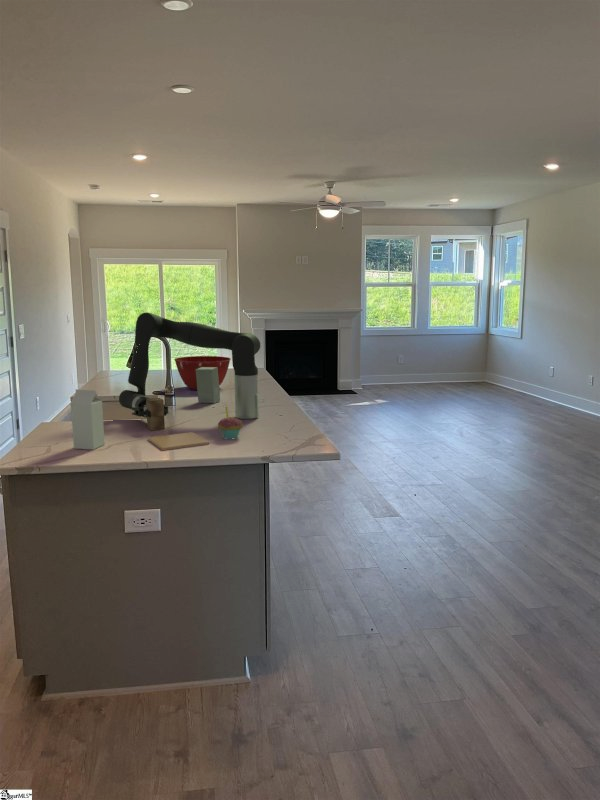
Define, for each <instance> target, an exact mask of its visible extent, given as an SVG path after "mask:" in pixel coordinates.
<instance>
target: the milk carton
mask: <svg viewBox="0 0 600 800" xmlns="http://www.w3.org/2000/svg"><path fill="white" fill-rule="evenodd" d="M70 414H71V428H72V440H73V441H72V442H73V449H74V450H75V449H76V450H96V449H98V448H100V447H102V446H103V445H105V427H104V413H103V401H102V399H101V398H100V396H99V395H98V393H97V390H96V389H75V393H74V395H73V397H72V400H71V402H70Z"/></svg>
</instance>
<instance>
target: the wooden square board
mask: <svg viewBox="0 0 600 800" xmlns="http://www.w3.org/2000/svg"><path fill="white" fill-rule="evenodd" d="M147 441H149V442H150V443H152V444H153V445H154V446H155V447H157V448H159V449H160V450H161V451H169V450H175V449H184V448H189V447H190V448H191V447H199V446H205V445H206V446H207V445H210V441H209V440H207V439H205V438H204V437H202V436H200V435H198V434H196V433H195V432H194V431H193V432H192V431H189V432H183V433H182V432H181V433H175V434H166V435H158V436H151V437H150V436H149V437H147Z"/></svg>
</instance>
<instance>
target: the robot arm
mask: <svg viewBox="0 0 600 800" xmlns="http://www.w3.org/2000/svg"><path fill="white" fill-rule="evenodd" d="M134 332H135V333H134V345H135V343H136V345H137V346H138V347H136V349H135V347H133V355H132V361H131V367H130V370H129V373H128V379H127V382H128V384H130V385H132V386H135V387H136V388H137V391H136V390H129V389H125V390H122V391H121V392H120V394H119V395H118V403H119V405H120V406H121V407H123V408H125V409H130V410H131V415H134V416H136V417H139V418H140V417H143V418H146V419H147V417H151V412H150V411H149V410H147V408H146V399H150V397H148V396H146V383H147V378H148V373H149V368H150V357H149V346H150V341H151V338H152V337H153V338H163V337H164V339H165V338H166V339H169V340H170V339H172V340H175V341H177V342H180V343H183V344H186V345H189V346H193V347H197V348H198V347H199V348H204V349H216V350H217V349H218V350H219V349H221V350H229V351H231V361H232V362H231V363H232V368H233V371H234V405H235V407H234V409H235V412H234V413H235V418H237V419H239V420H249V419H251V420H252V419H259V417H260V411H259V410H260V407H259V403H260V400H259V396H260V395H259V370H258V369H259V367H258V366H257V365H256V363H255V362H256V361H255V355H256V354H257V353H258V352H259V351H260V349H261V342H260V339H259V337H258V336H256V335H255V334H253V333H248V332H246V333H245V332H238V331H229V330H225V329H221V328H219V327H215V326H211V325H208V324H202V323H200V322H199V323H198V322H192V321H191V322H190V321H176V320H172V319H168V318H165V317H163V316H159V315H157V314H154V313H152V312H142V313H140V315H139V316H138V317H137V319H136V322H135V331H134ZM139 344H140V345H139ZM134 345H133V346H134ZM137 348H138V349H137ZM136 351H137V353H136ZM134 367H135V368H134ZM168 414H169V405H168V404H166V403H164V417H165V416H167V415H168Z"/></svg>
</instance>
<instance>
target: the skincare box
mask: <svg viewBox="0 0 600 800" xmlns="http://www.w3.org/2000/svg"><path fill="white" fill-rule="evenodd" d="M196 379H197V390H196V391H197V401H198V402H197V403H199V404H216V403H218V402H220V401H221V394H220V393H221V392H220V386H219V379H218V367H201V368H198V369H196Z"/></svg>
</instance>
